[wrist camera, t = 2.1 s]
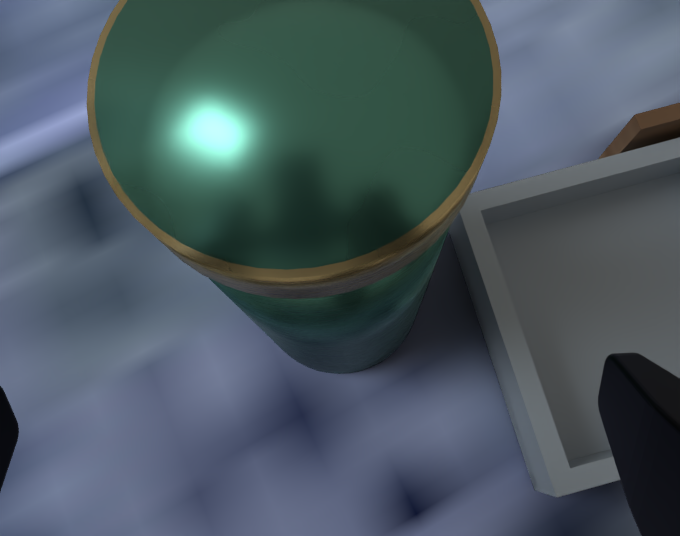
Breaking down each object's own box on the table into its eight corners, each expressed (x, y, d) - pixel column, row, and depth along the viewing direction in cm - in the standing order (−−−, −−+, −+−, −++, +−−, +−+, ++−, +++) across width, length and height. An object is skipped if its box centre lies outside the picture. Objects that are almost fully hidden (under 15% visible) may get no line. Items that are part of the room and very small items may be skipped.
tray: (812, 412, 19) (871, 409, 17) (534, 490, 19) (556, 497, 16) (694, 155, 21) (732, 123, 19) (446, 222, 21) (455, 197, 19)
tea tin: (442, 351, 20) (563, 210, 7) (279, 396, 20) (124, 329, 7) (394, 199, 21) (429, -133, 9) (242, 240, 21) (60, -38, 9)
